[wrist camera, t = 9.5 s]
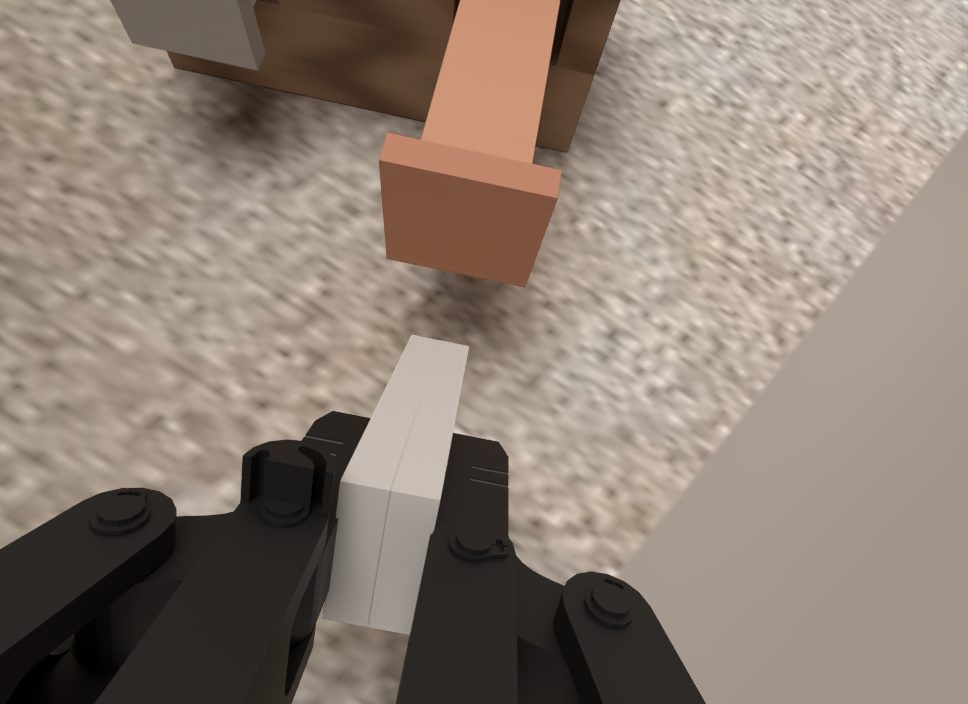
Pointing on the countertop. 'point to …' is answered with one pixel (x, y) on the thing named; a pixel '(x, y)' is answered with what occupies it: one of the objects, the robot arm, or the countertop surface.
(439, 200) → the plug terracotta
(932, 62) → the countertop surface
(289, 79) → the block
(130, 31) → the plug grey
